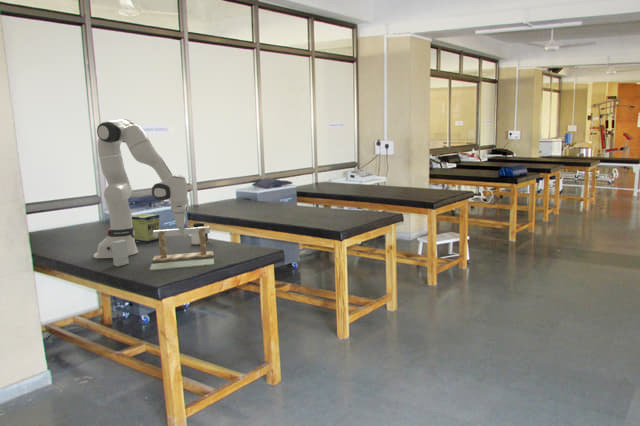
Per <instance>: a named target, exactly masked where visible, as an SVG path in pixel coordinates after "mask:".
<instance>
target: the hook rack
mask: <svg viewBox="0 0 640 426" xmlns="http://www.w3.org/2000/svg"><path fill="white" fill-rule="evenodd" d="M201 227H206V226H205V225H204V226H201ZM159 230H166V229H165V228H162V229H161V228H160V229H159ZM166 237H167V236H165V234H164V231H158V239H159V240H158V243H159V244H158V245H159V255H154V256H153V258H152V262H153V263H154V262H163V261H164V262H165V261H166V262H167V261H177V260H187V259H188V260H189V259H200V258H211V257H215V255H214V251H212V250H211V251H207V243H206V240H205V228H199V240H200V244H199V250H200V251H199V252H198V251H197V252H190V253H189V252H187V253H175V254H167V253H168V251H167V240H166Z"/></svg>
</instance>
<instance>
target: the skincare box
mask: <svg viewBox="0 0 640 426" xmlns="http://www.w3.org/2000/svg"><path fill="white" fill-rule="evenodd" d="M111 244H112V253H113V258H112V262H113V266H115V267H120V266H121V267H122V266H125V265H129V264H130V263H129V256H128V251H127V241H126V240H119V241H115V242H111Z"/></svg>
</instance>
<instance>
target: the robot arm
mask: <svg viewBox="0 0 640 426" xmlns="http://www.w3.org/2000/svg"><path fill="white" fill-rule="evenodd" d="M96 129H97V130H96V133H97V137H98V139H97V152H98V159H99V163H100V166H101V167H100V168H101V171H102V174H103V176H104V178H105V181H106V183H107V186H106V187H105V189H104V192H103V198H104V200H105V203H106V204H105V205H106V207H107V211H108V215H109V224H110V228H108V229H107V230H106V231H107V232H106V234H107V236H106V237H105V238H104V239H102V241H101V242H99V243H98V245H97V252H95V253H94V254H93V259H113V253H112V244H111V242H115V241H119V240H126V241H127V251H128V257H130V256H132V255H136V254H138V253H139V250H138V247H137V244H136V242H135V239H134V237H135V233H134V227H133V224H132V216H133V214H132V211H131V208H130V204H129V199H130V197H131V196H132V193H133V189H132V186H131V184H130V180H129V177H128V173H126V170H125V165H124V160H123V156H122V155H123V154H122V151H121V144H122V143H125V144H126V146H127V148H128V150H129V152H130V153H131V156H132V157H133V159H134V160H135V161H136V162H137V163H138V162H139V163H141V164H144V165H147V166H149V167H151V168H152V169H153V170H154V171H155V172H156V174H157V175H158V177H159V179H160V180H161V181H159V182H156V183H154V185H152V186H151V187H152V188H151V195H152V197H153V198H154V199H155V200H156V201H159V202H163V201H170V211H171V212H172V213H173V215H174V221H175V226H176V229H179V231H180V235H179V236H183V235H182V234H184V232H183V228H185V224H186V214H187V212H188V211H189V209H190V204H189V198H188V194H189V193H188V184H187V183H188V182H187V179H186V177H185V176H183V175H180V174H172V172H171V170H170V168H169V167H168V165H167V164H166V163H165V161H164V160H163V157H162V156H161V155H160V154H159V153H158V152H157V150H156V149H155V147H154V145H153V144H152V142H151V141H150V139H149V137H148V135H147V134H146V132H145V131H144V130H143V128H142V127H141V126H140V125H138V124H136V123H135V122H133V121H132V120H129V119H114V120H108V121H102V122H101V123H99V124H98V126H97V128H96Z"/></svg>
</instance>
